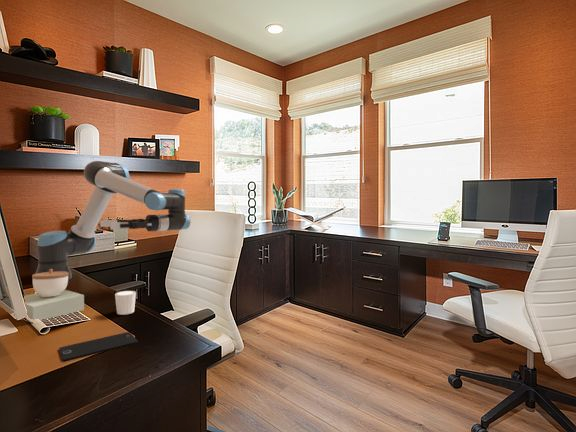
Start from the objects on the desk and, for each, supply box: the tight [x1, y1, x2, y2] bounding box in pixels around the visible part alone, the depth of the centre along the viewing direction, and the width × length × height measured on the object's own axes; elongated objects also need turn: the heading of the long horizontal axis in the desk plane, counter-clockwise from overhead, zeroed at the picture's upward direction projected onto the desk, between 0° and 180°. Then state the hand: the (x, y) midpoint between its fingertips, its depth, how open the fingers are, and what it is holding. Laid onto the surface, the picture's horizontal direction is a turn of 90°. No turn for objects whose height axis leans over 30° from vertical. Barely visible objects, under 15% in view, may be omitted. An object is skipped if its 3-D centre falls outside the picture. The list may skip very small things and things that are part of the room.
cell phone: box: [58, 331, 139, 363], centre depth 94 cm, size 9×18×1 cm, turn 130°
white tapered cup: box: [114, 290, 137, 316], centre depth 121 cm, size 7×7×7 cm
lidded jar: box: [31, 269, 69, 297], centre depth 121 cm, size 11×11×9 cm
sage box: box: [23, 289, 85, 322], centre depth 120 cm, size 16×16×6 cm
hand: (105, 224), depth 138 cm, fingers open, 13 cm apart
